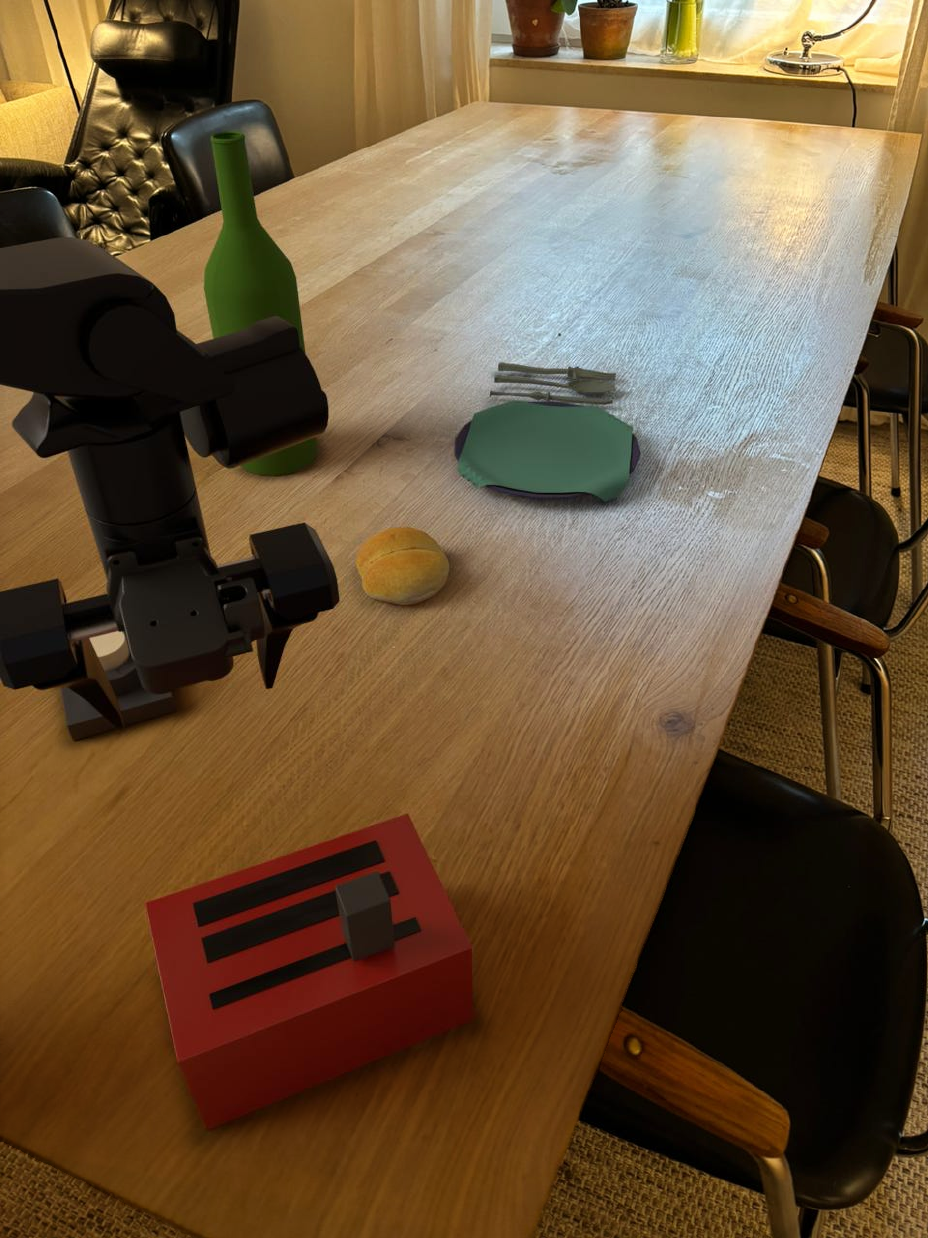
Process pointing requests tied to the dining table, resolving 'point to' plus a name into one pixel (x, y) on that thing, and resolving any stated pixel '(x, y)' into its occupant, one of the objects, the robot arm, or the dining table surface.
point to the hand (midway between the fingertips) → (195, 704)
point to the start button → (111, 649)
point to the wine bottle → (250, 278)
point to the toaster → (305, 970)
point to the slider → (365, 916)
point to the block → (130, 699)
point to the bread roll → (402, 566)
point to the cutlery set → (549, 441)
